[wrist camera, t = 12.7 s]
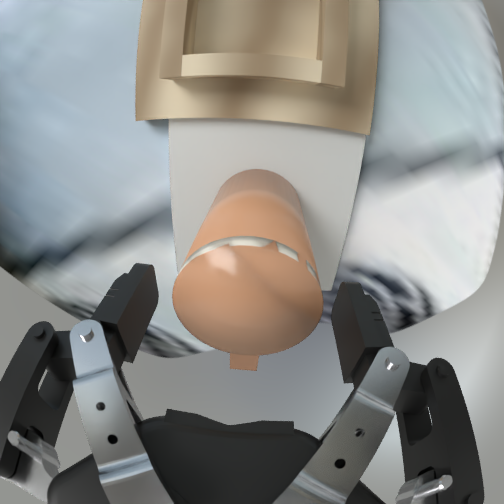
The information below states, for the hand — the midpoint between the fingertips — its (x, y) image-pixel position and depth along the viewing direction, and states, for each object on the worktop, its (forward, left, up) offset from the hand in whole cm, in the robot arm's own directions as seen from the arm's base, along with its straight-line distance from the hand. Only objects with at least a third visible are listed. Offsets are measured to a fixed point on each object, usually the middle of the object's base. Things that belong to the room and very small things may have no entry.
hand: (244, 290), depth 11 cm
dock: (-1, +13, -8) cm, 16 cm away
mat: (0, 0, -8) cm, 8 cm away
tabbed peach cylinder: (0, -2, -7) cm, 8 cm away
